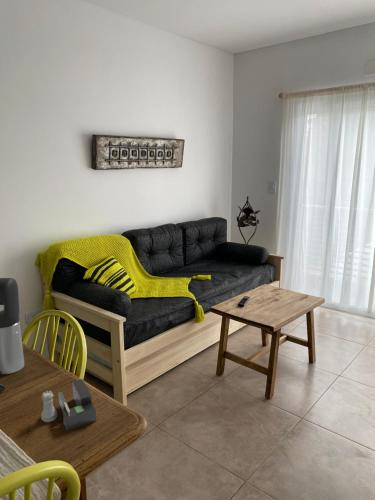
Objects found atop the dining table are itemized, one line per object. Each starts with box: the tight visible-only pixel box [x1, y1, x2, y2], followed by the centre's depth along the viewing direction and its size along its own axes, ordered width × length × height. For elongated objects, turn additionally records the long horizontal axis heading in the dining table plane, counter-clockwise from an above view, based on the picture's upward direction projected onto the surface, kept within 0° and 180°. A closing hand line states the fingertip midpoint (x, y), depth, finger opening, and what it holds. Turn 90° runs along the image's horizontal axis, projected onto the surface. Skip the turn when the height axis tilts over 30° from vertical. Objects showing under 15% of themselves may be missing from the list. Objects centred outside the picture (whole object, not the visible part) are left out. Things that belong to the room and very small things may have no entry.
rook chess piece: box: [40, 390, 58, 423], centre depth 111 cm, size 4×4×8 cm
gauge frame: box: [62, 378, 97, 431], centre depth 114 cm, size 14×8×6 cm, turn 30°
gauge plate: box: [57, 391, 70, 413], centre depth 112 cm, size 11×1×4 cm, turn 30°
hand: (1, 382), depth 104 cm, fingers open, 8 cm apart
